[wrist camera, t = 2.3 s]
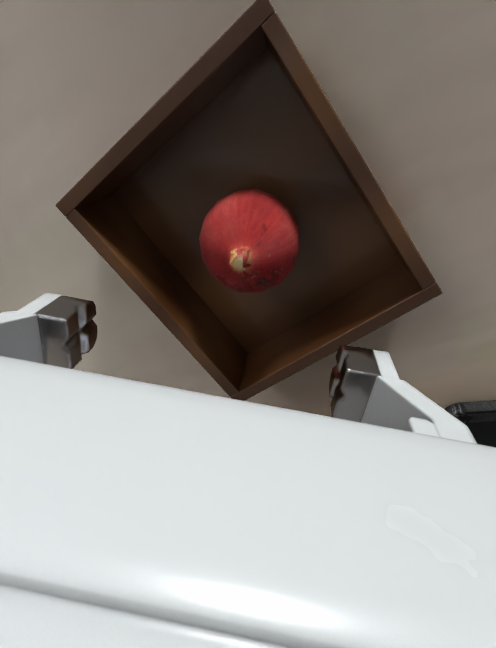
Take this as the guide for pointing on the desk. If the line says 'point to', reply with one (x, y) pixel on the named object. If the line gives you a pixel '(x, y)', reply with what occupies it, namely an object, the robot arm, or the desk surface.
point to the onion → (249, 241)
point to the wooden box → (246, 174)
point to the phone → (477, 420)
